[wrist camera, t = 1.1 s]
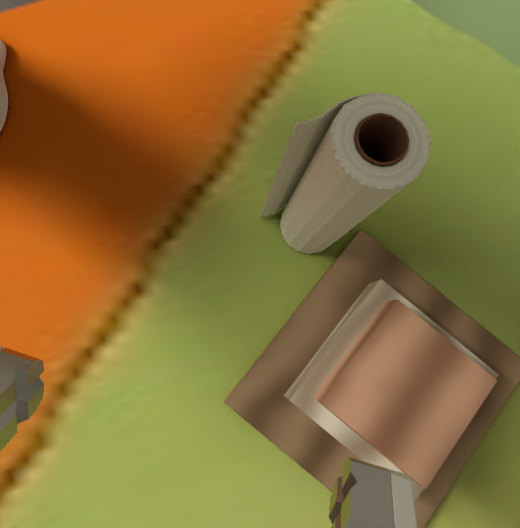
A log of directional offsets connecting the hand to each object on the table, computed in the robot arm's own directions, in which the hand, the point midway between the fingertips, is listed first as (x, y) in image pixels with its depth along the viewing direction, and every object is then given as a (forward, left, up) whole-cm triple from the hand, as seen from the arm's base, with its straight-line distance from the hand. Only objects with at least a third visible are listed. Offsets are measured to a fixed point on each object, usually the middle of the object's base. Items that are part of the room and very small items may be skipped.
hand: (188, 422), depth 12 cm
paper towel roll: (-1, +17, -33) cm, 37 cm away
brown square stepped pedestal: (+15, +9, -33) cm, 37 cm away
